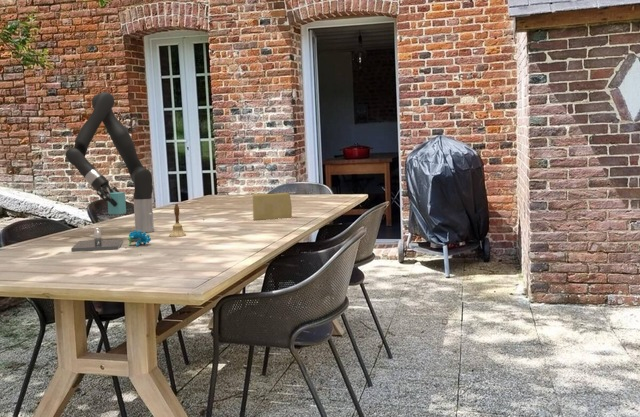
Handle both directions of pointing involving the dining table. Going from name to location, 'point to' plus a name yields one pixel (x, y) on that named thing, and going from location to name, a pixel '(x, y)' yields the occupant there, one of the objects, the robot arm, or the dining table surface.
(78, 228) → the dining table surface
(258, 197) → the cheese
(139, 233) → the blue spiky toy
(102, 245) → the mount plate
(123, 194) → the cap
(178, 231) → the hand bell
